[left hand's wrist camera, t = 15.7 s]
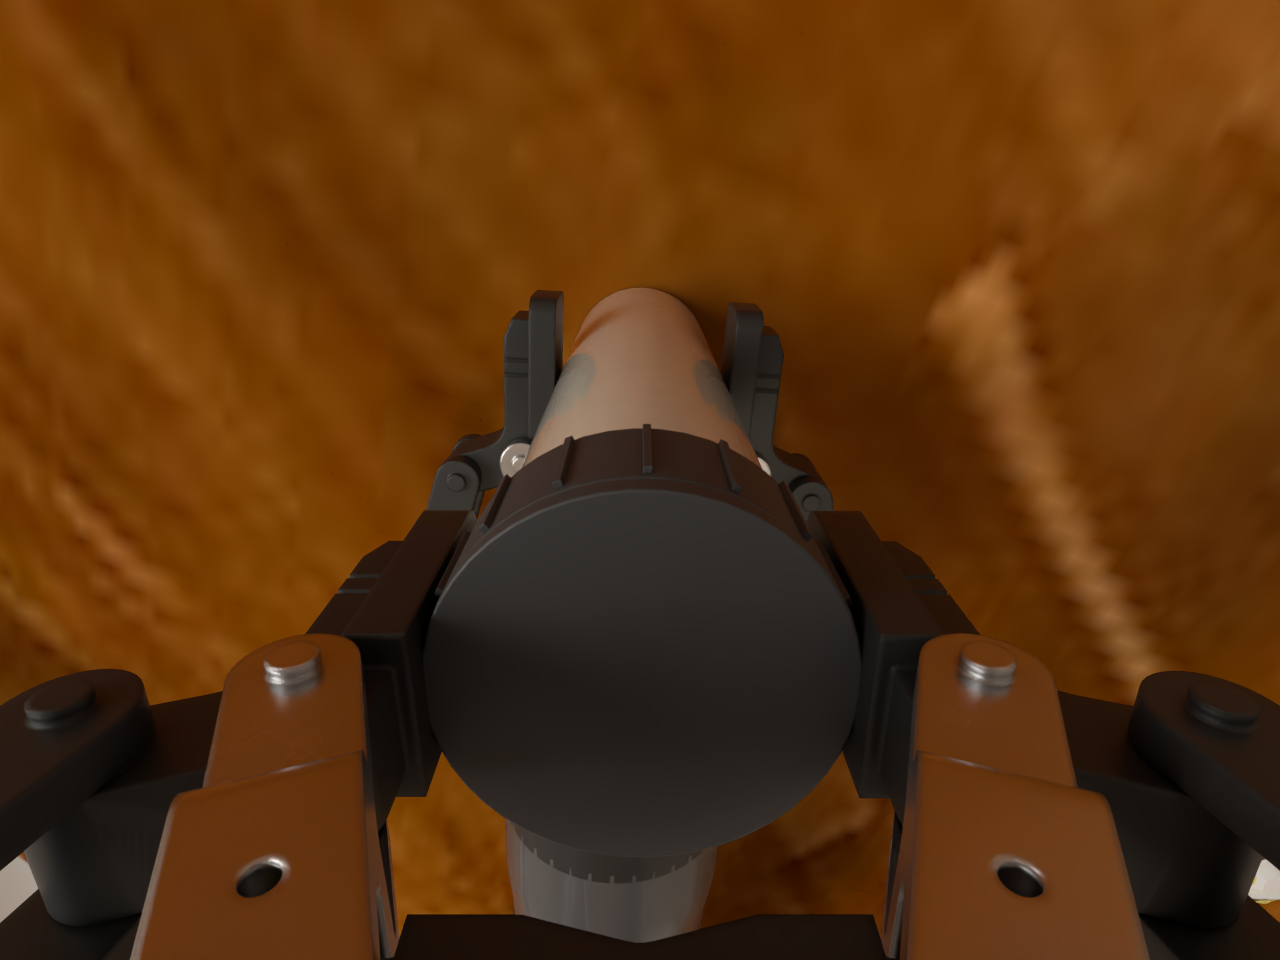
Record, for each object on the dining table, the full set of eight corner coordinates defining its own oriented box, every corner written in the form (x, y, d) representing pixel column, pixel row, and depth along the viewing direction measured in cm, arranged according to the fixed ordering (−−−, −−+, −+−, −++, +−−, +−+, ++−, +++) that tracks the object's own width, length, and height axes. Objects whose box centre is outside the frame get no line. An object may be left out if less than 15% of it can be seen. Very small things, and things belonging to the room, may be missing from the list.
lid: (706, 348, 10) (724, 393, 7) (884, 645, 11) (940, 749, 9) (384, 546, 11) (322, 633, 8) (590, 792, 12) (581, 915, 10)
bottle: (732, 349, 27) (907, 654, 9) (645, 441, 28) (652, 860, 10) (635, 258, 25) (627, 409, 8) (549, 358, 27) (379, 675, 9)
